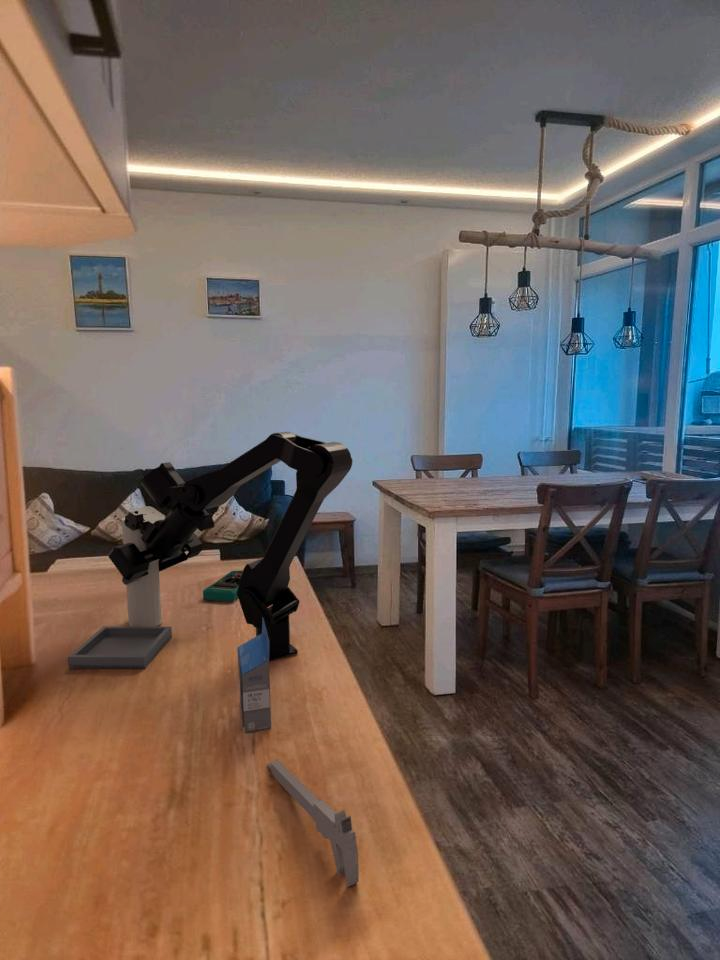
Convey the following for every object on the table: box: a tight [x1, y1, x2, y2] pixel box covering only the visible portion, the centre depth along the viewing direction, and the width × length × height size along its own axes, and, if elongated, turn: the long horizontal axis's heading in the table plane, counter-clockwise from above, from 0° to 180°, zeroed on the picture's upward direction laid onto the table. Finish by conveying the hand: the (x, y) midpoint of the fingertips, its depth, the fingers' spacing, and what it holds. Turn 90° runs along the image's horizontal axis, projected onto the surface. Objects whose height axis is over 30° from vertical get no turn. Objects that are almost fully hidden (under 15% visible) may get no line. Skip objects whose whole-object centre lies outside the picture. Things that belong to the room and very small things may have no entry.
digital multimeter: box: [202, 570, 243, 602], centre depth 132 cm, size 7×15×3 cm, turn 167°
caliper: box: [266, 759, 360, 888], centre depth 61 cm, size 20×1×6 cm, turn 30°
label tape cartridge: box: [237, 617, 272, 734], centre depth 80 cm, size 9×4×12 cm, turn 15°
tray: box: [67, 625, 173, 670], centre depth 101 cm, size 13×13×2 cm
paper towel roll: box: [121, 513, 163, 626], centre depth 112 cm, size 7×6×21 cm
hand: (137, 577), depth 112 cm, fingers open, 6 cm apart
